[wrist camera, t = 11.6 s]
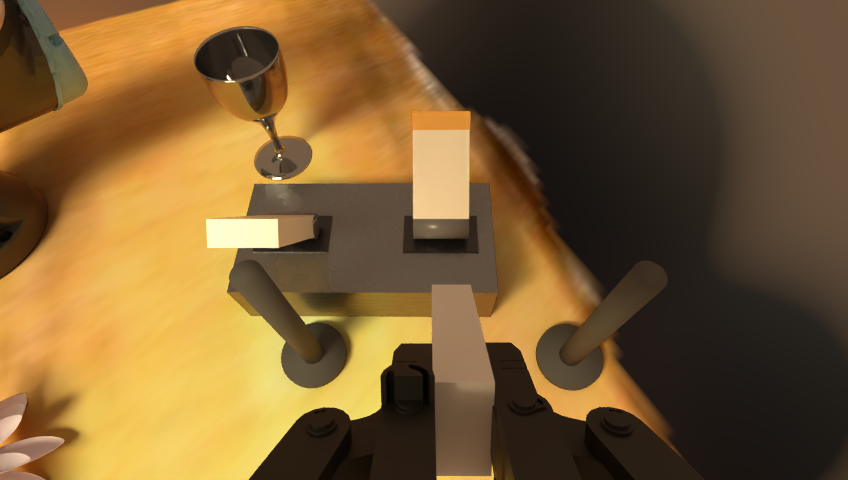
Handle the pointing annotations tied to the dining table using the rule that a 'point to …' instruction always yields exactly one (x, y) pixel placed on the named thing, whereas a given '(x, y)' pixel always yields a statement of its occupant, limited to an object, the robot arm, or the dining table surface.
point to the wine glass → (253, 92)
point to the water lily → (3, 422)
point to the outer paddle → (441, 174)
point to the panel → (371, 252)
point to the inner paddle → (262, 230)
